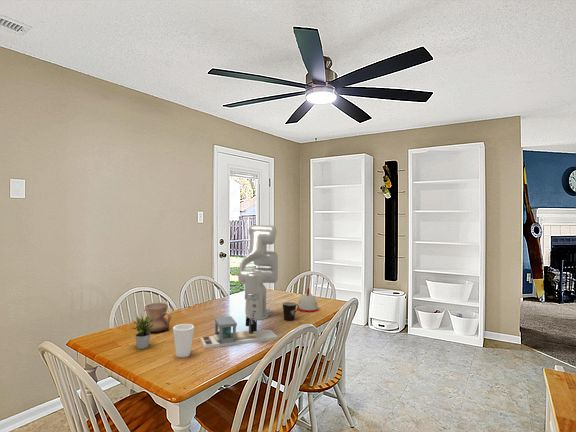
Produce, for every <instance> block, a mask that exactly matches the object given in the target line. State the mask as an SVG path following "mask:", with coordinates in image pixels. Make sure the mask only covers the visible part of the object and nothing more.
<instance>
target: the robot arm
mask: <svg viewBox="0 0 576 432" xmlns="http://www.w3.org/2000/svg"><path fill="white" fill-rule="evenodd" d="M248 234H249V236H250V239H249V248H248V253H247V255H245V256H244V257H243V259H242V260H241V262H240V264H239V268H238V277H237V278H238V279H237V280H238V282H239V284H243V285H244V300H245V309H244V311H245V313H244V314H245V327H249V320H251V323H252V324H251V332H254V331H258V320H264V319H268V318H269V314H273V313H274V310H273V309H267V287H266V286H265V285H264V284H275V283H277V281H278V278H279V276H278V275H279V257H278V256H279V255H278V253H277V252H276V251H267V248H268V247H267V245H274V243H275V242H276V237H277V228H276V227H275V226H274V225H269V224H268V225H263V224H262V225H261V224H260V225H259V224H256V225H255V224H253V225H250V226H249V228H248ZM252 262H253V265H255V266H256V267H254V268H252V269H251V270H249V269H246V267H247V265H249V264H250V263H252ZM257 266H259V267H257Z"/></svg>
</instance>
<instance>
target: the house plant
mask: <svg viewBox="0 0 576 432" xmlns="http://www.w3.org/2000/svg"><path fill="white" fill-rule="evenodd" d="M140 316H141V318H139V317H138V316H137V315H136V314H135V318H136V320H133V319H130V320H131V321H132V322H133V323H134V324H135V325H136V326H135V327H134V326H131V327H130V328H128V329H129V330H136V331H137V333H135V335H134V338H135V342H136V348H137V349H138V350H143V349H147V348H149V345H150V340H151V339H150V338H151V333H152V332H148V330H149V328H153V329H155V328H154V327H153V326H154V325H153V324H152V325H151V324H150V323H152V321H153V320H154V318H155V317H154V318H152V319H151V320H150V321H149V322H148V320H149V316H150V315H148V314H146V317H145V318H144V317H143V314H142V313H140ZM156 317H158V316H156ZM155 320H156V318H155ZM147 323H148V324H147ZM146 324H147V325H146ZM154 324H155V323H154ZM149 325H151V326H149ZM148 326H149V327H148Z"/></svg>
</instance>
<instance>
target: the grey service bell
mask: <svg viewBox="0 0 576 432" xmlns="http://www.w3.org/2000/svg"><path fill="white" fill-rule="evenodd" d="M298 305H299V308H298V307H297V308H298V310H297V311H298V312H301V313H306V314H307V313H316V312H318V311H319V310H318V309H319V308H318V305H319V304H318V300H317V299H316V298H315V295H313V294H312V293H310V287H308V288H307V291H306V293H304V294H303V295H302V296H301V298H299V300H298Z"/></svg>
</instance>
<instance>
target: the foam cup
mask: <svg viewBox="0 0 576 432" xmlns="http://www.w3.org/2000/svg"><path fill="white" fill-rule="evenodd" d="M194 332H195V325H193V324H192V323H191V324H190V323H181V324H176V325H174V326H173V328H172V333H173V339H174V349H175V356H176V357H177V358H187V357H189V356H190V355H191V350H192V346H193V345H192V344H193V339H194Z"/></svg>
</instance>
